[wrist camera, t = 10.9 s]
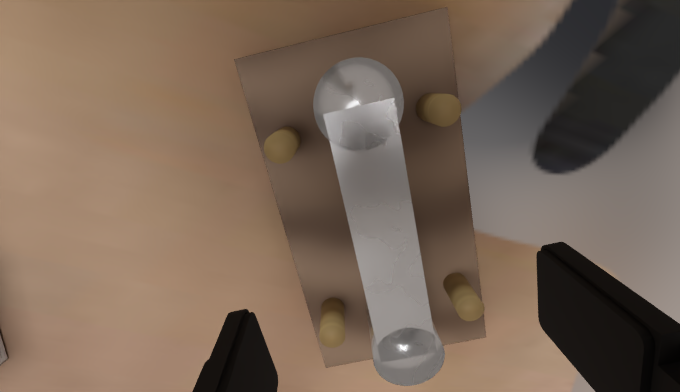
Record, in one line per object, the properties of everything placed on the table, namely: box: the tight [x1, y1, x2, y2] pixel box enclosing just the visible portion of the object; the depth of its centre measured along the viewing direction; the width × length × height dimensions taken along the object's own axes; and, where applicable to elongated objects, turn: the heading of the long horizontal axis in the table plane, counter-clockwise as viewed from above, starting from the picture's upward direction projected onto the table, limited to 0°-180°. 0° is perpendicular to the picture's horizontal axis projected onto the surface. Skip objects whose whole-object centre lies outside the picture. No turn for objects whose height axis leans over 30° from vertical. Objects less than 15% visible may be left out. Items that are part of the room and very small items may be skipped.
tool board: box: [234, 7, 486, 368], centre depth 21 cm, size 22×12×4 cm, turn 13°
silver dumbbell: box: [313, 57, 445, 386], centre depth 20 cm, size 18×4×5 cm, turn 13°
